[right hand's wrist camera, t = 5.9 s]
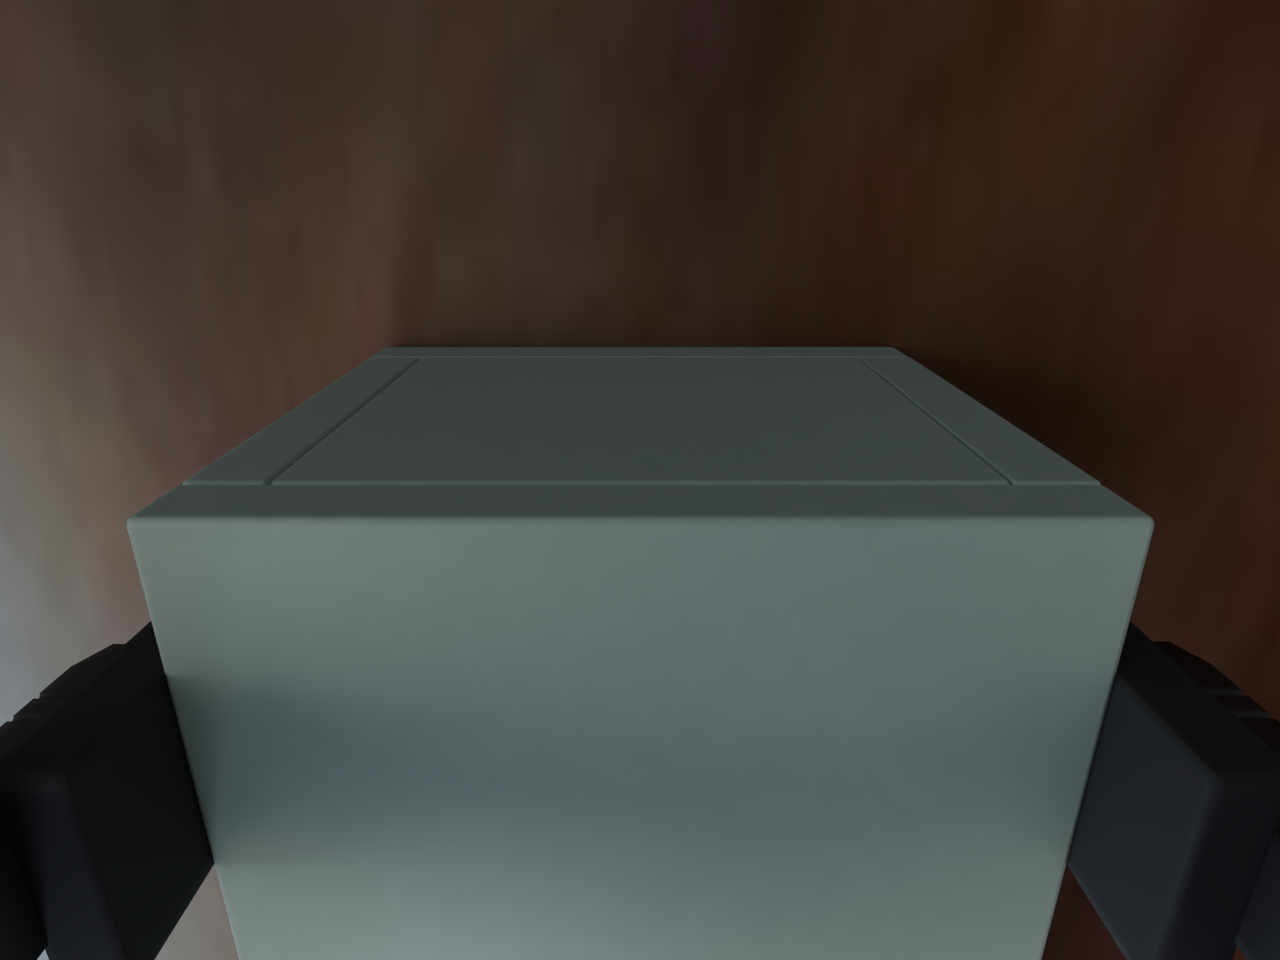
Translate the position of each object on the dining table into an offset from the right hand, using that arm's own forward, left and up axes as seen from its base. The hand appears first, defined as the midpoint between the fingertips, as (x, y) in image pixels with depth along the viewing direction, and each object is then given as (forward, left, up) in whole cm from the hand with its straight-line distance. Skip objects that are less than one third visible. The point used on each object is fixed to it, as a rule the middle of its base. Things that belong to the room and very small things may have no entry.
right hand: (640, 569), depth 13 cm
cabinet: (+6, +4, -3) cm, 8 cm away
